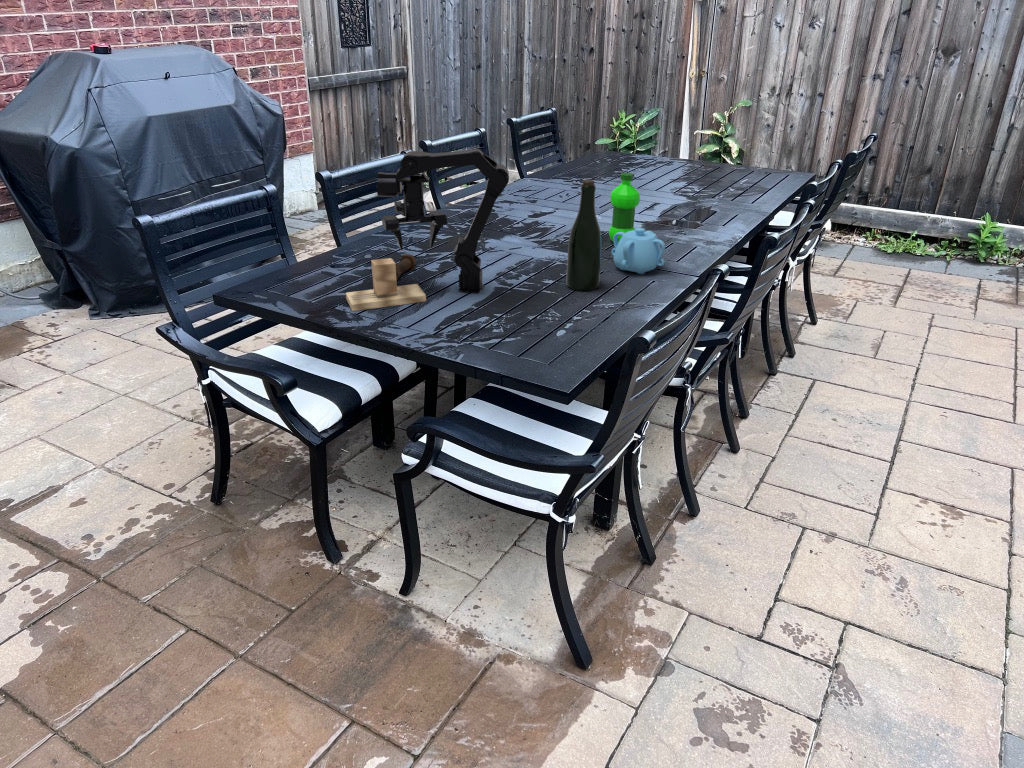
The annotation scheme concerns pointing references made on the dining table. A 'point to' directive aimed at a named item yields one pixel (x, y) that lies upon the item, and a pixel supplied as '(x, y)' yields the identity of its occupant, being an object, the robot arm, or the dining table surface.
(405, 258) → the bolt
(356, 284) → the dining table surface
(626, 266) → the decorative pot
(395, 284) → the block
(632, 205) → the plastic bottle
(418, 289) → the plank
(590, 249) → the beer bottle
